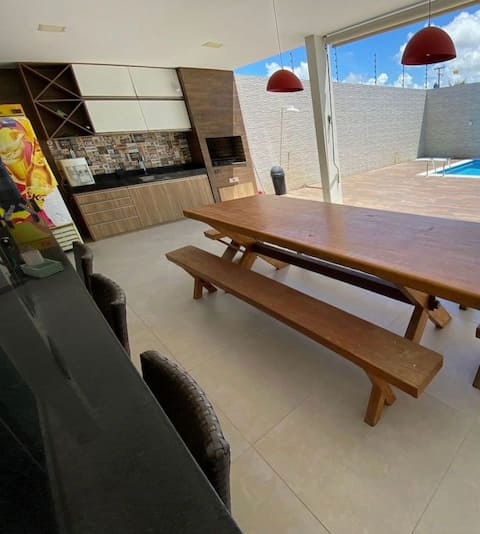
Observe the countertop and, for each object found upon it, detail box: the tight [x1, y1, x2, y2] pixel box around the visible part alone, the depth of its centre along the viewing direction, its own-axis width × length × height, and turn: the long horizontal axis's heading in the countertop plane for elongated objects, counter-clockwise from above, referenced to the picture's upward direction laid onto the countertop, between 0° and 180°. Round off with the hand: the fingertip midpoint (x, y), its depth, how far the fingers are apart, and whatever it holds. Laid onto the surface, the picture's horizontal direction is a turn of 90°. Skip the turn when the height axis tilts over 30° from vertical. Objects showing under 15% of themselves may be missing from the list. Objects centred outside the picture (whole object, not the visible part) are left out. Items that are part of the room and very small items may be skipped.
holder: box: [19, 257, 66, 279], centre depth 139 cm, size 8×16×4 cm, turn 66°
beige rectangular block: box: [22, 249, 45, 267], centre depth 139 cm, size 6×6×9 cm
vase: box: [19, 245, 37, 263], centre depth 149 cm, size 7×7×9 cm
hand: (25, 225), depth 134 cm, fingers open, 8 cm apart
